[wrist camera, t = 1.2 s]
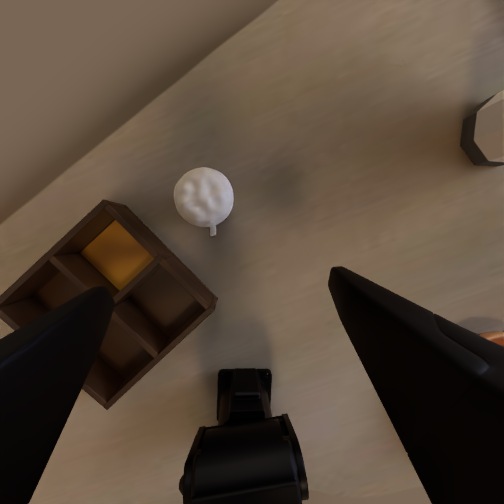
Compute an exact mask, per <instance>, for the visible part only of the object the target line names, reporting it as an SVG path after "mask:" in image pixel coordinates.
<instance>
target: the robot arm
mask: <svg viewBox="0 0 504 504" xmlns="http://www.w3.org/2000/svg"><path fill="white" fill-rule="evenodd" d="M328 287H329V290H330V293H331V296H332V298H333V301H334V304H335V307H336V309H337V312H338V315H339V317H340V320H341V322H342V324H343V326H344V328H345V330H346V332H347V334H348V336H349V338H350V340H351V342H352V344H353V346H354V348H355V350H356V352H357V354H358V356H359V358H360V360H361V362H362V364H363V366H364V368H365V370H366V372H367V374H368V376H369V378H370V380H371V382H372V384H373V386H374V388H375V390H376V392H377V394H378V396H379V398H380V400H381V402H382V404H383V406H384V408H385V410H386V412H387V414H388V416H389V418H390V420H391V422H392V424H393V426H394V428H395V430H396V432H397V434H398V436H399V438H400V440H401V442H402V444H403V446H404V448H405V450H406V452H407V453H408V457H409V459H410V461H411V463H412V465H413V467H414V469H415V471H416V473H417V475H418V477H419V479H420V481H421V483H422V485H423V487H424V489H425V491H426V492H427V495H428V497H429V499H430V501H431V503H432V504H504V346H501V345H499V344H497V343H495V342H493V341H490V340H488V339H486V338H484V337H482V336H480V335H477V334H475V333H473V332H471V331H469V330H467V329H465V328H463V327H461V326H459V325H456V324H454V323H452V322H450V321H448V320H446V319H444V318H443V317H441V316H439V315H437V314H433V313H432V312H431V311H429V310H427V309H425V308H423V307H421V306H419V305H417V304H415V303H413V302H411V301H409V300H407V299H405V298H403V297H401V296H399V295H397V294H395V293H393V292H391V291H389V290H387V289H386V288H384V287H382V286H380V285H378V284H376V283H374V282H372V281H370V280H368V279H366V278H364V277H362V276H360V275H358V274H356V273H354V272H352V271H350V270H348V269H346V268H344V267H342V266H339V267H332V268H331V271H330V276H329V281H328ZM114 307H115V301H114V299H113V297H112V295H111V293H110V291H109V289H108V287H107V286H94V287H92V288H90V289H88V290H86V291H85V292H83V293H81V294H79V295H78V296H76V297H74V298H72V299H70V300H69V301H67V302H65V303H63V304H62V305H60V306H58V307H56V308H55V309H53V310H51V311H49V312H47V313H46V314H44V315H42V316H40V317H39V318H37V319H35V320H33V321H32V322H30V323H28V324H26V325H24V326H23V327H21V328H19V329H17V330H16V331H14V332H12V333H10V334H9V335H7V336H5V337H3V338H2V339H0V504H28V503H29V502H30V500H31V498H32V495H33V493H34V491H35V489H36V487H37V485H38V482H39V480H40V478H41V476H42V474H43V472H44V469H45V467H46V465H47V463H48V461H49V458H50V456H51V454H52V452H53V450H54V448H55V445H56V443H57V441H58V439H59V437H60V434H61V432H62V430H63V428H64V426H65V424H66V421H67V419H68V417H69V415H70V413H71V411H72V408H73V406H74V404H75V402H76V400H77V397H78V395H79V393H80V391H81V389H82V387H83V384H84V382H85V380H86V378H87V376H88V373H89V371H90V369H91V367H92V365H93V363H94V360H95V358H96V356H97V354H98V352H99V350H100V347H101V345H102V342H103V340H104V337H105V334H106V331H107V328H108V325H109V322H110V319H111V316H112V313H113V310H114ZM222 373H223V374H224V375H221V374H222ZM266 373H269V374H268V375H266ZM271 379H272V374H271V371H270V370H269V369H255V368H244V369H221V370H220V371H219V372H218V394H217V420H218V426H211V427H205V426H202V427H199V430H198V432H197V435H196V436H195V439H194V442H193V444H192V447H191V449H190V452H189V454H188V457H187V460H186V462H185V466H184V474H183V476H182V477H181V479H180V482H179V490H180V492H181V493H182V495H183V504H302V500H308V498H309V494H308V493H309V492H308V484H307V477H306V472H305V466H304V461H303V457H302V453H301V449H300V445H299V442H298V439H297V436H296V434H295V431H294V429H293V426H292V424H291V422H290V419H289V417H288V414H282V416H276V417H272V414H271V409H270V400H271Z"/></svg>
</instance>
